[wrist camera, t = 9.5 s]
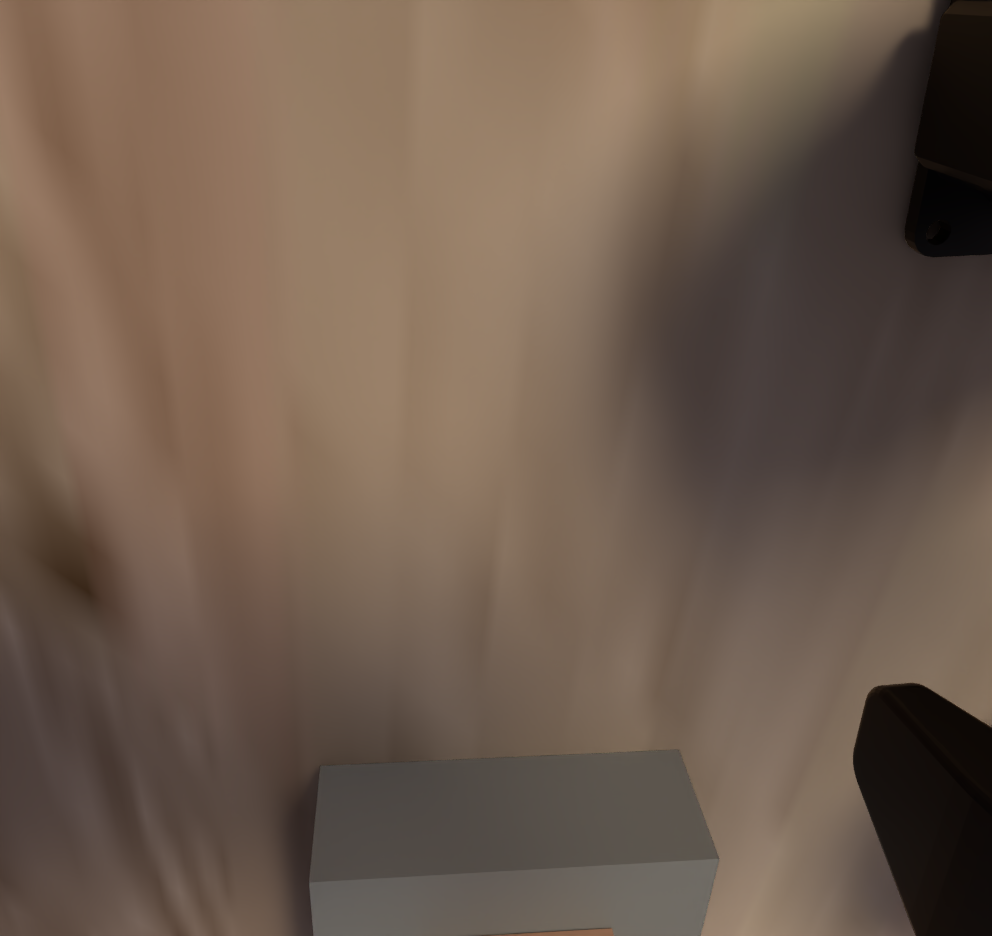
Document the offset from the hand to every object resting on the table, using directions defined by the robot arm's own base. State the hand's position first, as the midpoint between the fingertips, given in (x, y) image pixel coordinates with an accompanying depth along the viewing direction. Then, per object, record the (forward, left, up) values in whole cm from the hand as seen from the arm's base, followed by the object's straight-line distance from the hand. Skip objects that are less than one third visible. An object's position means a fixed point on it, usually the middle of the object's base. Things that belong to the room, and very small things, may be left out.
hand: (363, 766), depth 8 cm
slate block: (-2, +18, -12) cm, 22 cm away
